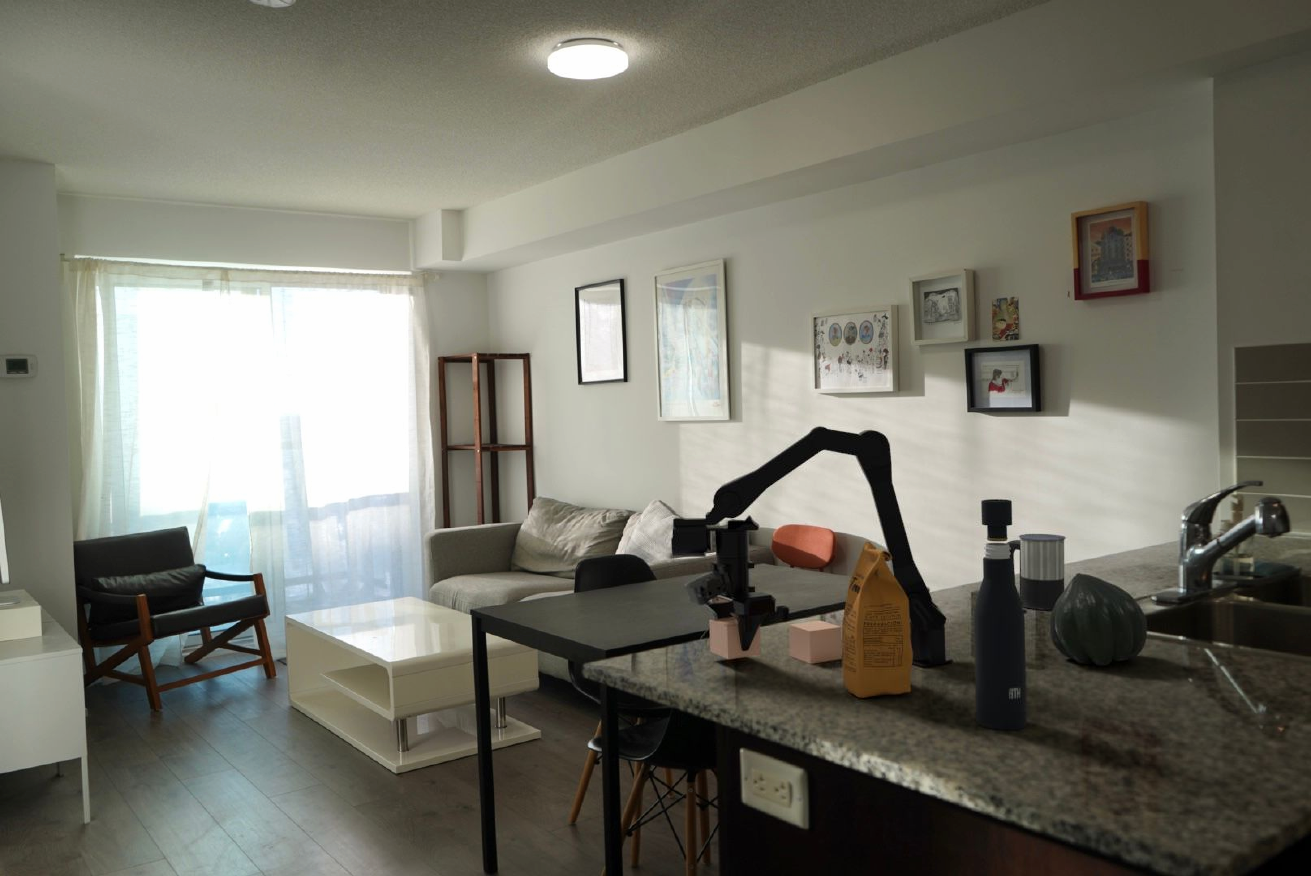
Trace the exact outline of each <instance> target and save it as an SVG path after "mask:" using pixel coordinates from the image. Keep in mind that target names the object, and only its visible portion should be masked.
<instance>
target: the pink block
mask: <svg viewBox="0 0 1311 876" xmlns="http://www.w3.org/2000/svg"><path fill="white" fill-rule="evenodd" d="M761 637H762V636H761V625H760V626H759V628H758V630H757V632H756V634H755V637H754V639H753V641H752V643H751V646H750V648H749V650H748V651H742V648H741V643H740V636H739V628H738V622H737V620H736V619H735V618H734V617H728V618H721V619H715V618H714V619H709V648H710V649H709V651H710V652H711V653H713V654H714V655H718V656H720V657H722V658H724V659H727V660H732V659H739V658H745V657H752V656H757V655H758V656H759V655H761V654H762V642H761V641H762V639H761Z"/></svg>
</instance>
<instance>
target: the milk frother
mask: <svg viewBox="0 0 1311 876" xmlns="http://www.w3.org/2000/svg"><path fill="white" fill-rule="evenodd" d="M1018 538H1019V539H1014V540H1010V541H1007V542H1006V543H1008V544H1009V547H1010V548H1011V549H1010V550H1009V552H1010V553H1011V554H1010V557H1011V558H1012V559H1013V580H1014V583H1015V584H1016V576H1015V575H1016V573H1015V557H1014V556H1015V551H1019V596H1020V599H1021V603H1022V608H1023V609H1024V608H1027V609H1032V610H1041V611H1042V610H1046V611H1052V610H1053V608H1054V607H1055V604H1056V602H1057V600H1058V599H1059V597H1060V596H1061V594H1062V593H1063V592H1064V590H1065V589H1066V588H1065V540H1066V539H1067V537H1066V536H1064V535H1060V534H1051V533H1050V534H1049V533H1024V534H1020V535H1019V536H1018Z"/></svg>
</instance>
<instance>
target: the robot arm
mask: <svg viewBox="0 0 1311 876" xmlns="http://www.w3.org/2000/svg"><path fill="white" fill-rule="evenodd" d="M822 451H829V452H834V453H839V454H844V455H850V456H853V457H855V458H856V461H857V462H858V465H859V467H860V469H861V471H862V474H863V475H864V477H865V479H866V481H867V483H868V485H869V489H870V492H871V495H872V496H871V497H872V499H873V503H874V507H875V509H876V514H877V518H878V521H879V524H880V528H881V531H882V532H881V533H882V536H883V538H884V539H883V540H884V543H885V545H886V546H885V547H886V551H887V552H889V553H890V554H891V556H892V559H891V560H890V561H889V562H890V571H891V573H892V574H893V575H894V577H895V578H896V580H897V581H898V583H899V584H900V586H901V587H902V589H903V590H904V592H905V594H906V596H907V598H908V600H909V618H910V640H911V647H912V652H913V660H912V665H917V666H919V667H923V668H925V667H932V666H937V665H943V664H950V663H953V662H954V659H953V658H952V657H947V656H946V654H947V653H946V651H947V649H946V626H945V624H946V621H947V617H946V615H945V614H944V613H943V611H942V610H941V609H940V607H939V606H938V605H937V604H936V603H934V601H933V599H932V598H933V597H932V595H931V593H930V591H929V589H928V586H927V585H926V583H925V580H924V578H923V577H922V575H921V572H920V570H919V568H918V567H917V564H916V563H915V560H914V556H913V553H912V550H911V546H910V542H909V538H908V535H907V532H906V528H905V524H904V520H903V517H902V513H901V509H900V506H899V502H898V498H897V494H896V491H895V488H894V484H893V469H892V468H893V467H892V453H891V445H890V441H889V438H888V437H887V436H886V435H885V434H883V433H882V432H880V431H878V430H873V429H865V430H863V431H861V432H859V433H855V432H849V431H843V430H838V429H837V430H835V429H830V428H827V427H825V426H819V425H818V426H815V427H814V428H812V429H811V430H810V431H809V432H808V433H807V434H806V435H804V436H802V437H801V438H800V439H798V440H797V441H795V442H794V443H793V444H791V445H790V446H788V447H786V448H785V449H784V450H782V451H781V452H779V453H778V454H777V455H775V456H773V457H772V458H770V460H768V461H766V462H765V463H764V464H762V465H761V466H760V467H758V468H757V469H755V470H753V471H751V472H748V473H746V474H743V475H741V476H739V477H736V478H734V479H732V480H730V481H728V482H726V483H724V484H722V485H721V486H720V487H719V488H718V489H717V490H716V491H715V493H714V495H713V499H712V503H713V507H712V508H711V510H710V511H707V512H706V514H705V517H700V518H699V517H697V518H696V517H695V518H694V517H692V518H686V517H675V518H673V520H672V522H673V523H672V533H671V534H672V536H671V540H670V541H671V553H672V554H671V555H672V557H673V558H702V557H703V558H705V557H706V555H707V553H708V551H709V552H711V551H712V550H713V532H714V536H715V537H714V539H715V561H712V562H711V564H710V565H709V566H710V567H709V572H706V573H704V574H702V575H700V576H697V577H696V578H694V579H692V580H690V581H688V582H686V583H685V584H684V589H685V590H686V593H687V596H688V598H689V601H690V603H695V604H697V605H698V606H705V607H706V608H707V609H708V610H709V611H710V612H711V613H712V615H713V617H714V619H721V618H728V617H734V618H735V619H736V620H737V622H738V628H739V636H740V643H741V648H742V651H748V650H749V648H750V646H751V643H752V641H753V639H754V637H755V634H756V632H757V630H758V628H759V626H760V627H761V624H762V622H763V620H764V618H765V616H766V615H769V613H775V612H777V599H776V598H775V597H774V596H773V595H772V594H769V593H766V592H762V591H757V592H756V586H755V585H751V569H755V562H754V561H750V541H749V540H750V539H749V537H750V536H749V532H750V531H758V530H759V529H760V524H759V523H757V522H756V521H755V520H754V519H753V517H752V516H751V514H750V515H747V517H746V518H745V519H735V518H738V517H740V516H741V515H743V513H744V512H746V511H747V510H748V508H749V507H750V506H751V505H753V503H754V502H755V501H757V500H758V498H759V497H760V496H761V495H762V494H763V493H764V492H765V491H766V490H767V489H768V488H769V487H771V486H772V485H774V484H776V483H777V482H779V481H780V480H781V479H783V478H784V477H786V476H787V475H789V474H790V473H792V472H793V471H795V470H796V469H797V468H799V467H800V466H801V465H803V464H804V463H805V464H806V463H807V461H809V460H810V459H812V458H813V457H815V456H816V455H818V454H819V453H821V452H822ZM725 519H730V520H727V525H717V524H720V522H722V521H723V520H725ZM733 519H734V520H733Z"/></svg>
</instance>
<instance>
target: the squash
mask: <svg viewBox="0 0 1311 876" xmlns="http://www.w3.org/2000/svg"><path fill="white" fill-rule="evenodd" d="M1064 589H1065V590H1064V592H1063V593H1062V594H1061V596H1060V597H1059V599H1058V600H1057V602H1056V604H1055V607H1054V608H1053V610H1051V613H1050V616H1049V620H1048V631H1049V633H1048V634H1049V635H1050V636H1049V637H1050V639H1051V642H1052V644H1053V645H1054V647H1055V648H1056V649H1057V651H1059V653H1060V654H1061V655H1063V656H1064V657H1066V658H1068V659H1071V660H1074V661H1076V662H1077V663H1079V664H1082V665H1083V664H1085V665H1089V664H1093V663H1094V665H1097V666H1099V667H1101V666H1102V667H1103V666H1104V667H1105V666H1108V665H1109V664H1110V663H1111V662H1112V661H1115V662H1121V661H1124V662H1125V661H1128V660H1131V659H1133V658H1134V657H1137V656H1138V655H1139V654H1140V653H1141V652H1142V651H1143V649H1144V647H1145V644H1146V641H1147V637H1148V633H1147V632H1148V625H1147V624H1148V622H1147V618H1146V615H1145V613H1144V612H1143V609H1142V608H1141V606H1140V604H1139V603H1138V602H1137V600H1136V599H1135V598H1134V597H1133V596H1132V595H1131V594H1130V593H1129V592H1128V591H1126V590H1124V589H1123V588H1121V587H1120V586H1117V585H1116V584H1113V583H1111V582H1108V581H1106V580H1104V579H1102V578H1099V577H1096V576H1093V575H1090V574H1084V573H1081V572H1077V573H1076V574H1075V576H1073V578H1071V580H1070V581H1069V583H1068V585H1067V586H1066V588H1064Z"/></svg>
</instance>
